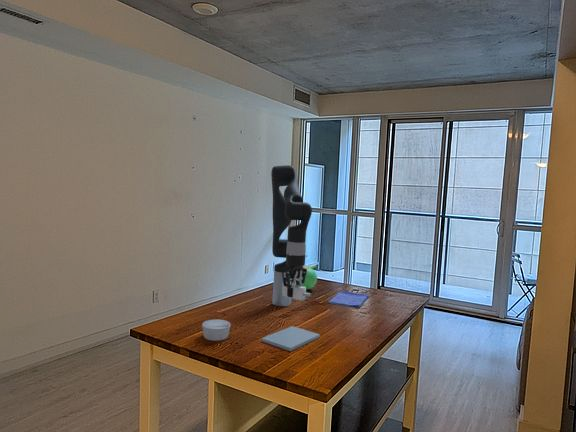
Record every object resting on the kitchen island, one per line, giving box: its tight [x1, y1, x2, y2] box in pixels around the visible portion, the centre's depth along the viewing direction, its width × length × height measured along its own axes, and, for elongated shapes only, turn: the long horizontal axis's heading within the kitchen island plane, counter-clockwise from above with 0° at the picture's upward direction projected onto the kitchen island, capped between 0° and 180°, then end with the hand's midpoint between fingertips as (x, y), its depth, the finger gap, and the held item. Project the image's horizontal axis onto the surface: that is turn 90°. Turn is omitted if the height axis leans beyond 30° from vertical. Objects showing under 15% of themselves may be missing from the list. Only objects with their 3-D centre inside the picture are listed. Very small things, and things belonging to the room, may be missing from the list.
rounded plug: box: [282, 283, 312, 301], centre depth 167 cm, size 4×13×4 cm, turn 53°
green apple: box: [292, 264, 318, 291], centre depth 250 cm, size 18×17×15 cm
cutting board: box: [261, 325, 321, 352], centre depth 169 cm, size 20×14×1 cm
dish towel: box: [328, 290, 369, 309], centre depth 232 cm, size 17×24×3 cm
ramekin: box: [201, 318, 231, 342], centre depth 168 cm, size 11×11×5 cm
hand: (293, 295), depth 168 cm, fingers closed on rounded plug, 4 cm apart
